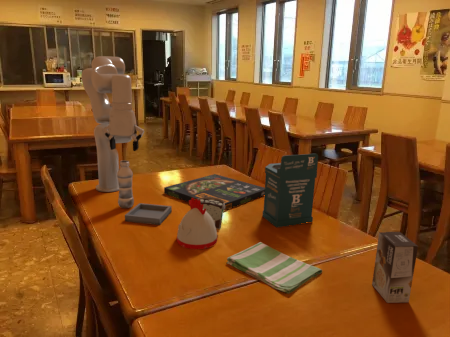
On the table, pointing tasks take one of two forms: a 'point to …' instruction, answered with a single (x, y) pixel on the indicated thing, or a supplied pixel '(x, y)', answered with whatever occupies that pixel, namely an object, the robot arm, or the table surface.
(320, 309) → the table surface
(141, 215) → the tray
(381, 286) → the coffee box
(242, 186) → the pizza box
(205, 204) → the food container
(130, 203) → the plastic bottle
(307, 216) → the donation box
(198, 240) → the kitchen timer
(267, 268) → the dish towel
